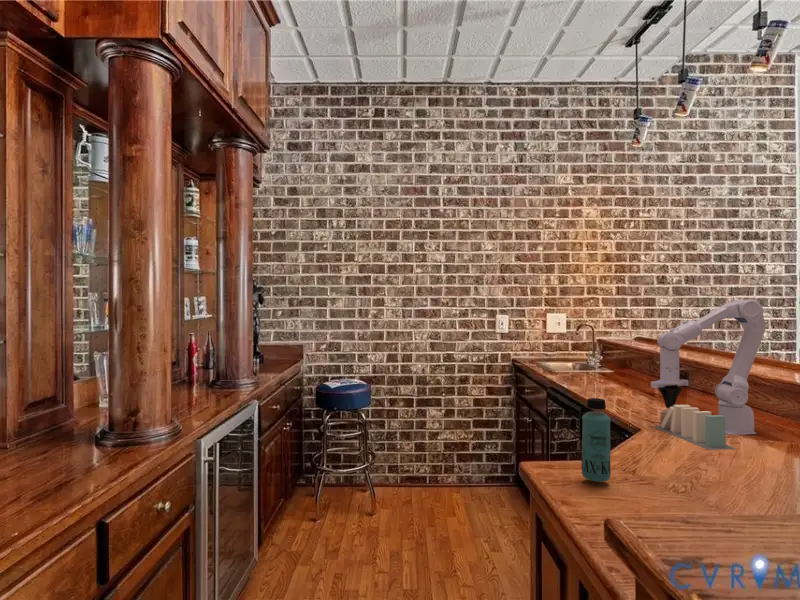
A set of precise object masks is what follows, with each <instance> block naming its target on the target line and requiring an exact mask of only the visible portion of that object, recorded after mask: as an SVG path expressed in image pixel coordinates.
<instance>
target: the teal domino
mask: <svg viewBox="0 0 800 600" xmlns="http://www.w3.org/2000/svg"><path fill="white" fill-rule="evenodd" d="M705 437H706V446H707V447H725V444H726V433H725V416H722V415H719V414H714V415H705Z"/></svg>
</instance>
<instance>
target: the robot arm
mask: <svg viewBox="0 0 800 600" xmlns="http://www.w3.org/2000/svg"><path fill="white" fill-rule="evenodd" d="M764 313H765V309H764V308H763V306H762V305H761V303H759V301H758V300H755V299H750V298H749V299H733V300H731V301H730V302H727V303H724V304H723V305H720V306H719V307H718V308H715V309H714V310H712V311H710V312H709V313H708V314H706V315H704V316H702V317H701V318H699V319H697V320H693V319H689V320H686V319H685V320H683V321H682V323H681V324H680V325H677V326H676V327H675V328H673V327H671V328H669V332H668V331H666V332H665V331H664V332H662V333H661V334H659V337H658V338H657V340H656V342H657V345H658V347H660V348H659V370H660V371H659V379H658V380H655V381H654V380H653V381H650V388H652V389H658V390H659V392H660V394H661V396H662V398H663V401H664V405H665V409H667V408H670V407H673V405H676V402H677V400H678V398H679V397H678V396H679V395H680V393H681V392H682V387H683V386H684V387H685V386H686V387H688V386H689V380H688V379H680V348H682V345H683V344H685V343H688V342H689V341H691V340H693V339H694V338H697V337H698V336H701V335H702V333H703V330H704V329H706V328H708V327H710V326H712V325H714V324H716V323H718V322H720V321H722V320H725V319H732V318H733V319H734V320H735V321H737V322H738V323H739V324H740V326H741V327H742V329H743V333H742V335H741V338H740V341H739V344H738V347H737V349H736V352H735V355H734V356H733V357H734V358H733V359H732V363H731V365H730V368H729V371H728V372H727V374H726V375H724V377H722V380H721V381H720V383H718V385H717V386H716V387H715V390H714V393H715V396H716V397H717V399H719V400H718V415H722V416H725V435H729V436H735V435H756V434H757V432H755V413H754V410H753V409H752V408H751V406H749V405H747V402H749V401H748V400H749V393H748V392H749V388H750V386H749V383H748V378H749V375H750V372H751V369H752V366H753V364H754V361H755V359H756V356H757V353H758V351H759V348H760V346H761V343H762V340H763V337H764V335H765V332H766V322H765V317H764Z"/></svg>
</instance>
